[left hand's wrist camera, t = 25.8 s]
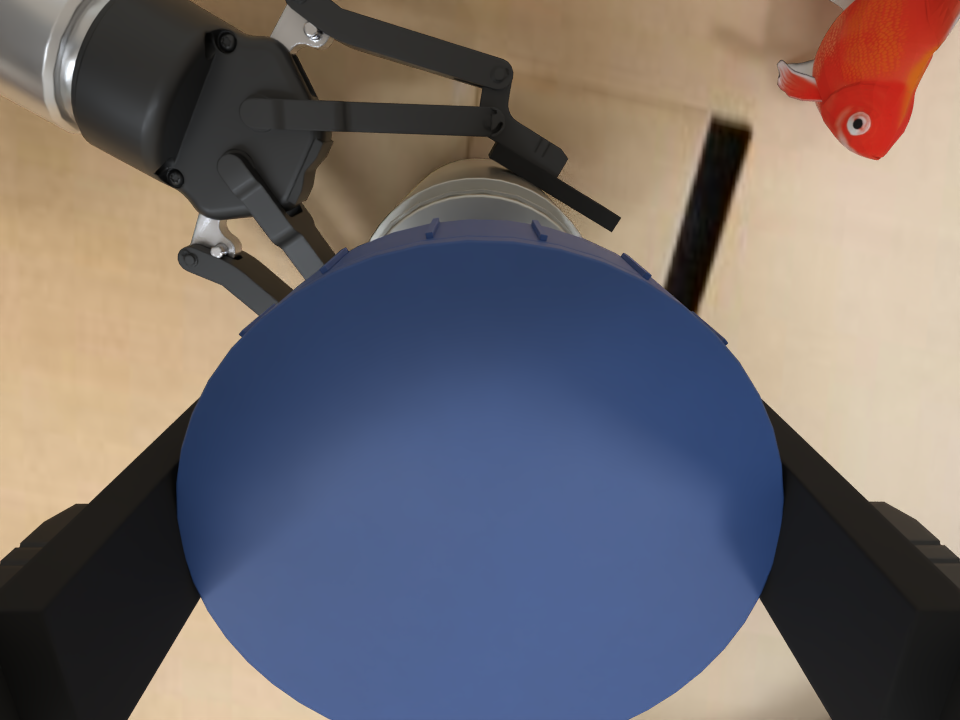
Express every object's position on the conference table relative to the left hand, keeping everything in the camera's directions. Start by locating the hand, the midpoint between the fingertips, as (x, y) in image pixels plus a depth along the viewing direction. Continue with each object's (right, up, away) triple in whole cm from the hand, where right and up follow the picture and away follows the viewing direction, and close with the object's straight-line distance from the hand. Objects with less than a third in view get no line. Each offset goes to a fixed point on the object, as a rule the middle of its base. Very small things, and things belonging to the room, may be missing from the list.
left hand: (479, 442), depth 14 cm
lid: (0, -1, -3) cm, 3 cm away
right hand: (+4, +4, +17) cm, 18 cm away
